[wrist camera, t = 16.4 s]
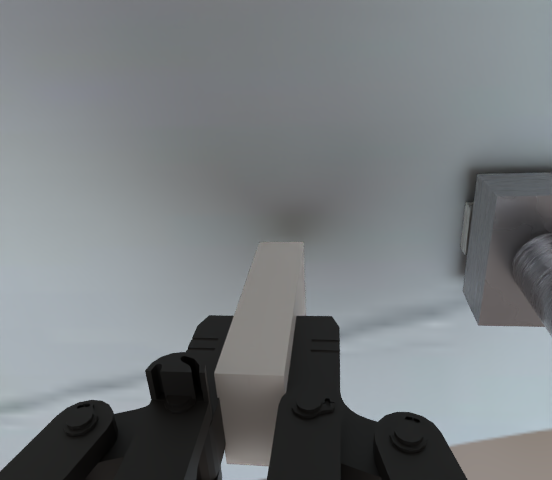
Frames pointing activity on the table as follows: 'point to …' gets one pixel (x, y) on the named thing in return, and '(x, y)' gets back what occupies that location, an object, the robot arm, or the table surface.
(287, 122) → the table surface
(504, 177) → the lever
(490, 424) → the table surface
